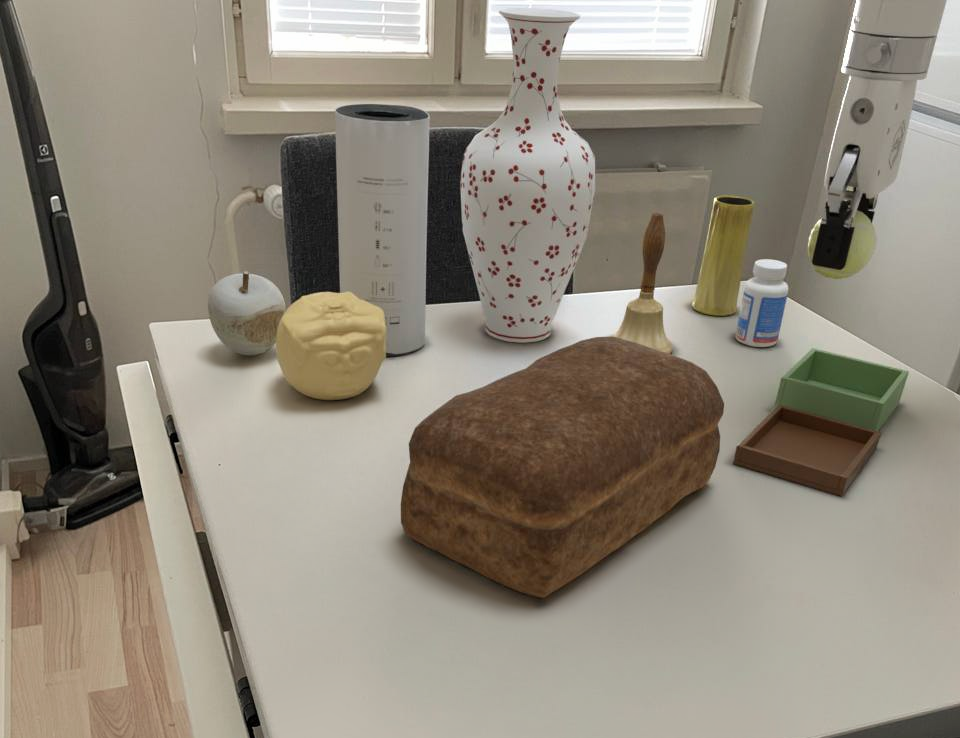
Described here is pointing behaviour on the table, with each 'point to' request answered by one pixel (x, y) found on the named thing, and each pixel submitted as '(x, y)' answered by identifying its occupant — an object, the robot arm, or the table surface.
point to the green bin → (842, 388)
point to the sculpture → (331, 345)
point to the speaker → (384, 214)
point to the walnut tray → (807, 449)
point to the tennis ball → (858, 251)
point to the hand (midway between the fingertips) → (838, 256)
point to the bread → (561, 461)
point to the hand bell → (648, 295)
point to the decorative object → (246, 312)
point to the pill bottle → (763, 304)
